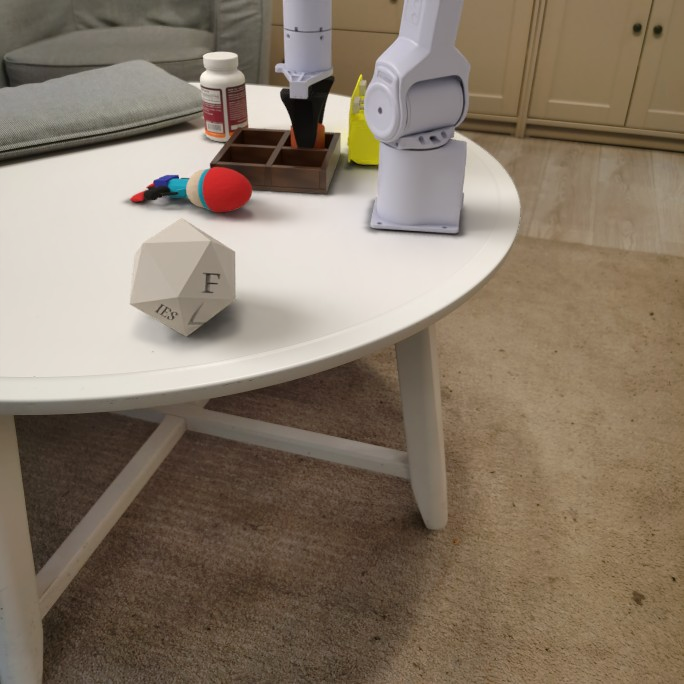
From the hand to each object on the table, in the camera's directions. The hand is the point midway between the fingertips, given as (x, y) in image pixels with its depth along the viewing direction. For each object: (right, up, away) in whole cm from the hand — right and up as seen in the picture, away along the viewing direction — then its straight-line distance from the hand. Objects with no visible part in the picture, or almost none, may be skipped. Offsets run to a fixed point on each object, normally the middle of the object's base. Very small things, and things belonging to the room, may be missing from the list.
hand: (308, 140), depth 92 cm
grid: (-4, -4, -1) cm, 5 cm away
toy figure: (-12, -10, -10) cm, 19 cm away
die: (-9, -24, -30) cm, 40 cm away
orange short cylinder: (0, -1, +1) cm, 1 cm away
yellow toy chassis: (+8, +1, +7) cm, 11 cm away
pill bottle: (-12, +3, +10) cm, 16 cm away
